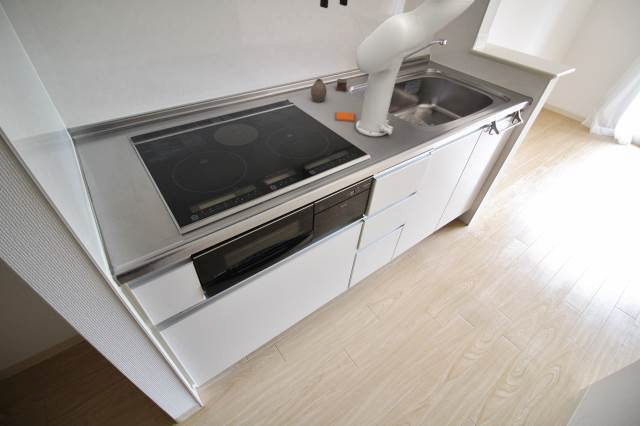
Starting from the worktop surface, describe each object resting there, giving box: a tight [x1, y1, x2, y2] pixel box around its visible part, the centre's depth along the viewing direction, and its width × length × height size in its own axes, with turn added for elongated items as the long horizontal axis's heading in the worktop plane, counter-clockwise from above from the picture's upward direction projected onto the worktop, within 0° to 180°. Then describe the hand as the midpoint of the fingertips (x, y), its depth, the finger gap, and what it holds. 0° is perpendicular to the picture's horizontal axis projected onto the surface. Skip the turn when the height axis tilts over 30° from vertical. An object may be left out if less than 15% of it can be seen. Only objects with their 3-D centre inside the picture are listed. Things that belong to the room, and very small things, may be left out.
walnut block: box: [336, 78, 348, 92], centre depth 137 cm, size 4×4×4 cm
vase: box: [310, 78, 327, 103], centre depth 125 cm, size 7×7×9 cm
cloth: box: [335, 111, 355, 122], centre depth 117 cm, size 7×6×1 cm
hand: (333, 6), depth 99 cm, fingers open, 9 cm apart
